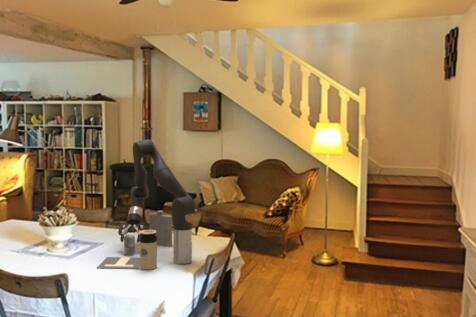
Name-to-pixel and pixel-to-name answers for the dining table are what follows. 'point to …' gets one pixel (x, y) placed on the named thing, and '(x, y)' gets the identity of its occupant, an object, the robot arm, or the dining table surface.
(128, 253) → the slate block
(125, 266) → the letter board
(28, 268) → the dining table surface
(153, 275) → the dining table surface
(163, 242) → the hip flask
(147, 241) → the travel mug
